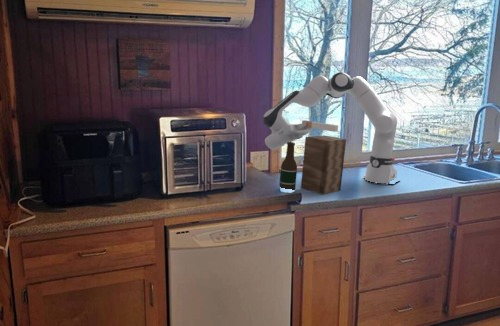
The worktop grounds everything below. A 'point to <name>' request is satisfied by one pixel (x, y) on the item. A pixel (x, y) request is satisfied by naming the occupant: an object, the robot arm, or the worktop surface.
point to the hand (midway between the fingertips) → (308, 123)
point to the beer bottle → (288, 169)
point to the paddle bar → (321, 126)
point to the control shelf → (323, 164)
